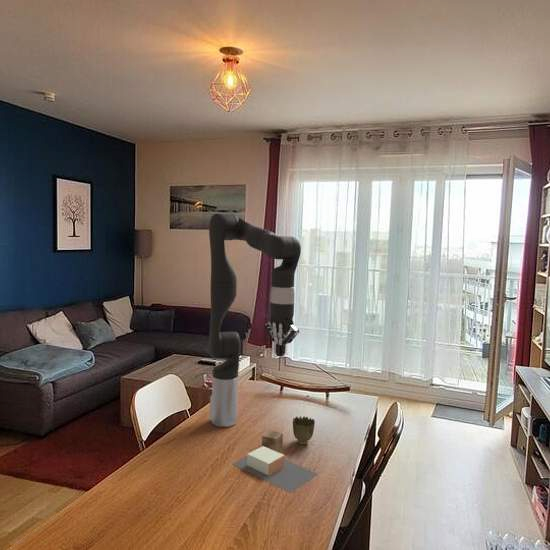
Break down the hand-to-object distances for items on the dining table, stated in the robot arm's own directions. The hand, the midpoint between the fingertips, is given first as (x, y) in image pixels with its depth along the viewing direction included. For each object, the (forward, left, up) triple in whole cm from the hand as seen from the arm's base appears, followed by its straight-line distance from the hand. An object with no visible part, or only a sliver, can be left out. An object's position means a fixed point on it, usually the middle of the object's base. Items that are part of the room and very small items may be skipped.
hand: (280, 355), depth 142 cm
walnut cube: (-2, 0, -31) cm, 31 cm away
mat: (+7, -10, -31) cm, 33 cm away
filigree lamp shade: (+3, +10, -31) cm, 33 cm away
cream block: (+8, -10, -29) cm, 32 cm away
